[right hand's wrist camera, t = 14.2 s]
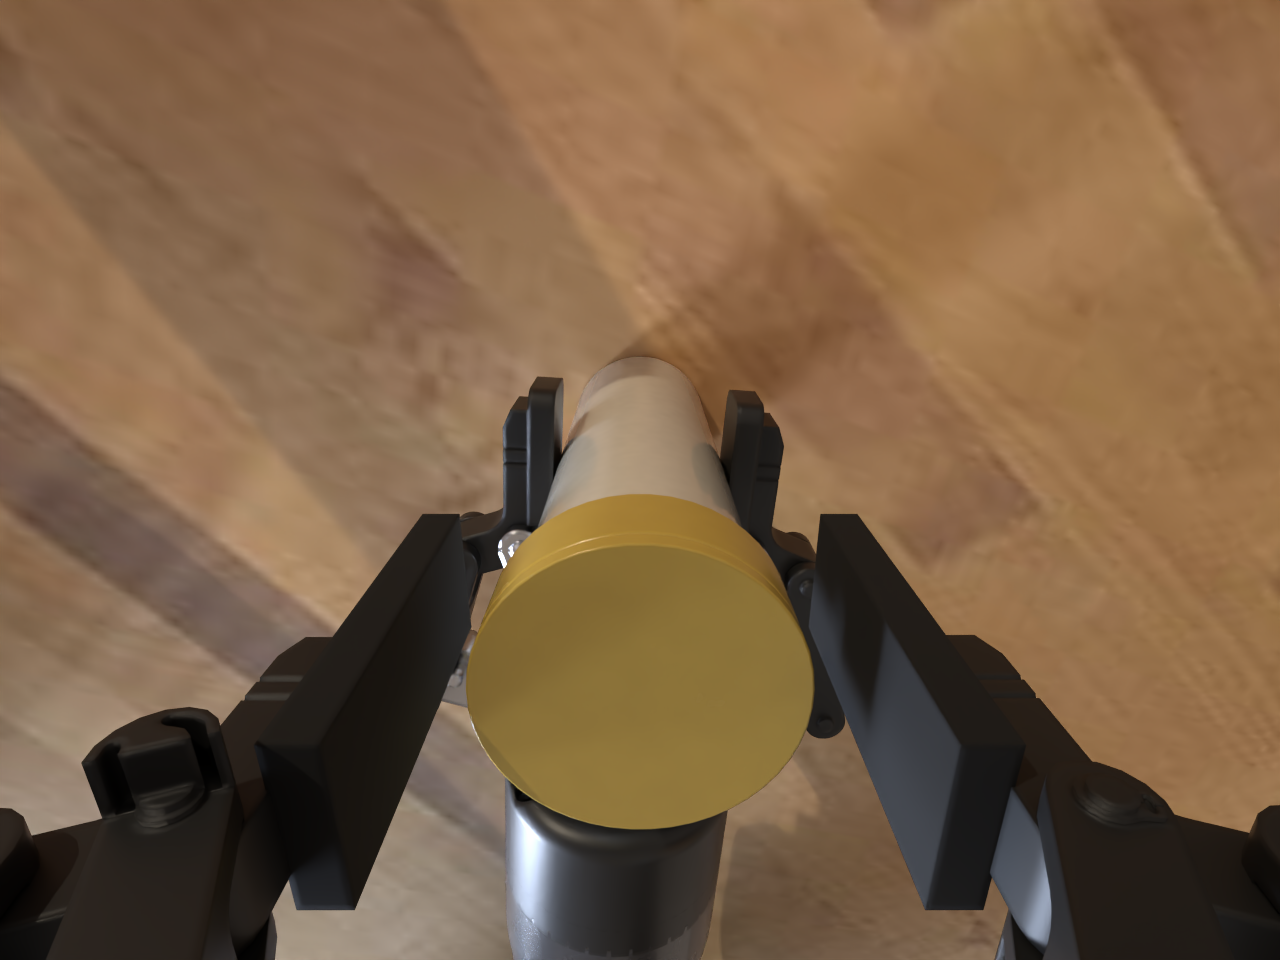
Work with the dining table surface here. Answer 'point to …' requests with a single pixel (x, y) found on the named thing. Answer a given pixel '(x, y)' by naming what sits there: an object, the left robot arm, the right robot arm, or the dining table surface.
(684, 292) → the dining table surface
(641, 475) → the jar
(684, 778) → the lid
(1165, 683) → the dining table surface
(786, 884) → the dining table surface
